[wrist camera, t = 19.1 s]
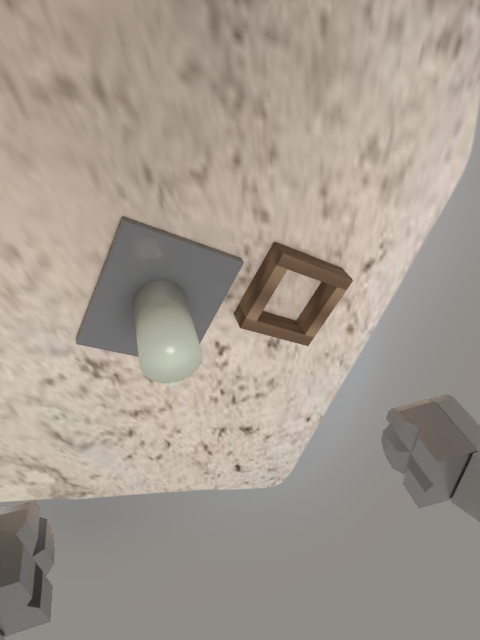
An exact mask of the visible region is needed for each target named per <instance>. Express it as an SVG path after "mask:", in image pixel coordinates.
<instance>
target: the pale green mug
mask: <svg viewBox="0 0 480 640" xmlns="http://www.w3.org/2000/svg"><path fill="white" fill-rule="evenodd" d="M133 310H134V319H135V328H136V337H137V346H138V355H139V364H140V369H141V371H142V372H143V374H144V375H145V376H146V377H148V378H149V379H151V380H153V381H156V382H160V383H169V385H170V387H173V386H178V385H179V381H181V380H184V379H186V378H188V377H189V376H191V375H192V374H193V373H194V372H195V371H196V370H197V369H198V368H199V366H200V364H201V361H202V351H201V348H200V344H199V341H198V337H197V334H196V330H195V327H194V323H193V320H192V317H191V313H190V310H189V306H188V303H187V299H186V296H185V293H184V291H183V290H182V289H181V288H180V287H179V286H178V285H177V284H175V283H173V282H171V281H166V280H156V281H152V282H149V283H147V284H145V285H143V286H142V287H141V288H140V289H139V290H138V291H137V292H136V294H135V296H134V299H133Z"/></svg>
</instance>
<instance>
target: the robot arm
mask: <svg viewBox="0 0 480 640" xmlns="http://www.w3.org/2000/svg"><path fill="white" fill-rule="evenodd" d="M386 419H387V420H388V422H389V423H390V424H389V425H388V426H387V427H386V428H385V429H384V431H383V435H382V445H383V450H384V453H385V455H386V458H387V460H388V461H389V463H390V464H391V466H392V468H394V469H395V470H397V471H399V472H401V473H402V474H403V485H404V486H405V488H406V489H407V491H408V492H409V494H410V495H411V497H412V499H413V500H414V502H415V503H416V505H417V506H418V508H422V507H425V506H429V505H433V504H436V503H440V502H443V501H447V500H451V499H452V500H451V502H452V503H454V504H455V505H456V506H458V507H459V508H461V509H462V510H464V511H465V512H467V513H468V514H469V515H471V516H472V517H474V518H475V519H476V520H478V521H479V522H480V425H478V423H477V422H476V421H475V420H474V419H473V418H472V417H471V416H470V415H469V413H468V412H467V411H466V410H465V409H464V408H463V407H462V406H461V405H460V404H459V403H458V402H457V400H456V399H454V398H453V397H452V396H450V395H441V396H438V397H434V398H431V399H424V400H420V401H417V402H413V403H409V404H406V405H402V406H399V407H395V408H392V409H391V410H390V411H389V412H388V414H387V418H386ZM54 550H55V549H54V539H53V533H52V530H51V526H50V525H49V523H48V520H47V519H44V518H41V517H40V507H39V505H38V504H37V502H36V501H35V500H31V501H27V502H23V503H19V504H15V505H11V506H6V507H2V508H0V640H5V638H4V637H5V636H9V635H11V634H15V633H17V632H21V631H24V630H27V629H30V628H33V627H36V626H38V625H41V624H44V623H47V622H50V617H51V602H52V585H51V583H50V582H49V580H48V579H47V577H46V575H47V574H48V572H49V571H50V569H51V567H52V566H53V564H54Z"/></svg>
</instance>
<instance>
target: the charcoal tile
mask: <svg viewBox="0 0 480 640" xmlns="http://www.w3.org/2000/svg"><path fill="white" fill-rule="evenodd" d="M243 263H244V262H243V260H242V259H241V258H239V257H236V256H233V255H230V254H227V253H224V252H222V251H219V250H216V249H213V248H210V247H207V246H205V245H202V244H199V243H196V242H193V241H190V240H188V239H185V238H182V237H179V236H176V235H173V234H171V233H168V232H165V231H162V230H159V229H156V228H154V227H151V226H148V225H145V224H142V223H139V222H137V221H134V220H131V219H128V218H125V217H122V220H121V223H120V225H119V228H118V230H117V233H116V236H115V238H114V241H113V244H112V246H111V249H110V251H109V254H108V257H107V259H106V262H105V264H104V267H103V270H102V272H101V275H100V278H99V280H98V283H97V285H96V288H95V291H94V293H93V296H92V299H91V301H90V304H89V306H88V309H87V312H86V314H85V317H84V320H83V322H82V325H81V327H80V330H79V333H78V335H77V338H76V344H79V345H84V346H89V347H93V348H98V349H103V350H108V351H113V352H118V353H123V354H128V355H133V356H138V357H139V355H138V346H137V337H136V328H135V319H134V310H133V299H134V296H135V294H136V292H137V291H138V290H139V289H140V288H141V287H142V286H143V285H145V284H147V283H149V282H152V281H156V280H166V281H171V282H173V283H175V284H177V285H178V286H179V287H180V288H181V289H182V290H183V291H184V293H185V296H186V299H187V303H188V306H189V310H190V313H191V317H192V320H193V323H194V327H195V330H196V334H197V337H198V341H199V344H200V342H201V340H202V339H203V337H204V335H205V333H206V331H207V329H208V328H209V326H210V324H211V322H212V320H213V318H214V316H215V315H216V313H217V311H218V309H219V307H220V305H221V304H222V302H223V300H224V298H225V296H226V294H227V293H228V291H229V289H230V287H231V285H232V283H233V281H234V280H235V278H236V276H237V274H238V272H239V270H240V269H241V267H242V265H243Z"/></svg>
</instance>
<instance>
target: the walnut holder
mask: <svg viewBox="0 0 480 640" xmlns="http://www.w3.org/2000/svg"><path fill="white" fill-rule="evenodd" d="M287 269H288V270H291V271H294V272H297V273H300V274H302V275H305V276H308V277H311V278H313V279H316V280H319V281H322V283H321V284H320V286H319V287H318V289H317V290H316V292H315V294H314V295H313V297H312V298H311V300H310V301H309V303H308V304H307V306H306V307H305V309H304V311H303V312H302V314H301V315H300V317H299V318H298V320H297V321H294V320H291V319H287V318H284V317H281V316H277V315H274V314H270V313H267V312H264V311H263V309H264V308H265V306H266V304H267V303H268V301H269V299H270V298H271V296H272V294H273V293H274V291H275V289H276V288H277V286H278V284H279V283H280V281H281V279H282V278H283V276H284V274H285V273H286V271H287ZM352 281H353V280H352V278H351V277H350V276H349V275H348V274H347V273H346V272H345V271H344V270H343V269H342V268H340V267H338V266H335V265H332V264H330V263H327V262H325V261H322V260H320V259H317V258H314V257H312V256H309V255H307V254H304V253H302V252H299V251H297V250H294V249H291V248H289V247H286V246H284V245H281V244H279V243H276V242H274V244H273V245H272V247H271V249H270V251H269V252H268V254H267V256H266V258H265V259H264V261H263V263H262V265H261V267H260V268H259V270H258V272H257V274H256V275H255V277H254V279H253V281H252V282H251V284H250V286H249V288H248V290H247V291H246V293H245V295H244V297H243V298H242V300H241V302H240V304H239V305H238V307H237V309H236V311H235V313H234V315H235V318H236V320H237V322H238V324H239V326H240V328H242V329H246V330H250V331H254V332H257V333H261V334H265V335H269V336H272V337H276V338H280V339H284V340H288V341H291V342H295V343H299V344H303V345H306V346H309V344H310V343H311V341H312V340H313V338H314V337H315V335H316V334H317V332H318V331H319V329H320V328H321V327H322V325H323V324H324V322H325V321H326V319H327V318H328V316H329V315H330V313H331V312H332V310H333V309H334V308H335V306H336V305H337V303H338V302H339V300H340V299H341V297H342V296H343V294H344V293H345V291H346V290H347V289H348V287H349V286H350V284H351V283H352Z"/></svg>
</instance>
